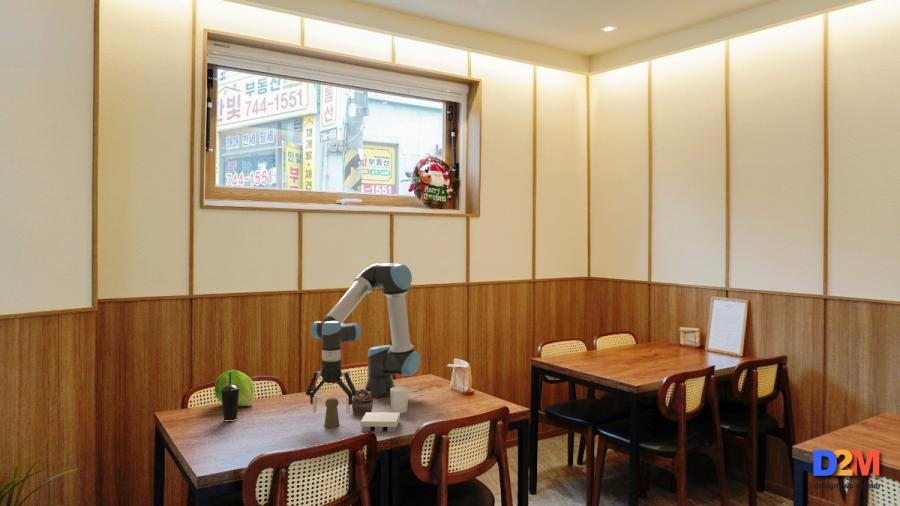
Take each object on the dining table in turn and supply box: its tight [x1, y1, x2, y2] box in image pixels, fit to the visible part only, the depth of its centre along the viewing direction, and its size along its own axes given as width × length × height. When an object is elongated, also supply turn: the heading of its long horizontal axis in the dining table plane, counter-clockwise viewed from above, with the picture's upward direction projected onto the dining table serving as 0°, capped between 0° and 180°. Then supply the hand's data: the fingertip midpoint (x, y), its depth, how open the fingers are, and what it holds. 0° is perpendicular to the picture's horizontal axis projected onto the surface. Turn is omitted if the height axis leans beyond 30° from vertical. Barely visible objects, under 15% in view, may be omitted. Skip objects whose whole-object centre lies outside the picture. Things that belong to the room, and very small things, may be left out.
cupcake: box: [350, 388, 374, 416], centre depth 250 cm, size 10×10×10 cm
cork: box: [323, 397, 341, 429], centre depth 232 cm, size 6×6×11 cm
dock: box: [360, 411, 401, 433], centre depth 230 cm, size 12×14×4 cm
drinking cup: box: [220, 372, 240, 421], centre depth 239 cm, size 8×8×20 cm
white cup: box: [390, 386, 409, 415], centre depth 251 cm, size 8×8×10 cm
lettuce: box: [214, 369, 255, 407], centre depth 261 cm, size 17×20×16 cm
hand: (331, 412), depth 232 cm, fingers open, 13 cm apart
